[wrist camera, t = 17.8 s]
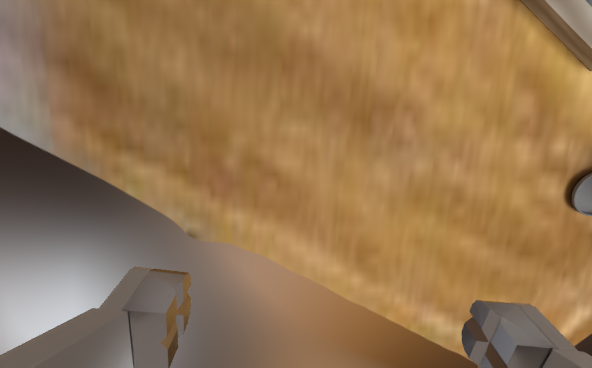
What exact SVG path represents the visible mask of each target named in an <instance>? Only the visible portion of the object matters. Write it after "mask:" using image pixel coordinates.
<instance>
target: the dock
mask: <svg viewBox="0 0 592 368" xmlns="http://www.w3.org/2000/svg"><path fill="white" fill-rule="evenodd" d="M521 1H522V2H523V3H524V4H525V5H526V6H527V7H528V8H529V9H530V10H531V11H532V12H533V13H534V14H535V15H536V17H537V18H538V19H539V20H540V21H541V22H542V23H543V24H544V25H545V26H546V27H547V28H548V29H549V30H550V31H551V32H552V33H553V34H554V35H555V36H556V37H557V38H558V39H559V40H560V41H561V42H562V43H563V44H564V45H565V46H566V47H567V48H568V49H569V50H570V51H571V52H572V53H573V54H574V55H575V56H576V57H577V58H578V59H579V60H580V61H581V62H582V63H583V64H584V65H585V66H586V67H587V68H588V69H589V70H590V71H592V0H521Z"/></svg>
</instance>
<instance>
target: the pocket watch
mask: <svg viewBox="0 0 592 368" xmlns="http://www.w3.org/2000/svg"><path fill="white" fill-rule="evenodd" d="M571 200H572V205H573V206H574V208H575V209H576V210H577V211H578V212H580V213H582V214H584V215H587V216H592V173H590V174H588V175H586V176H585V177H583V178H582V179H581V180H580V181H579V182H578V183H577V185H576V186H575V188H574V190H573V193H572V199H571Z"/></svg>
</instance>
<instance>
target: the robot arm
mask: <svg viewBox="0 0 592 368" xmlns="http://www.w3.org/2000/svg"><path fill="white" fill-rule="evenodd" d="M190 286H191V276H190V274H189V273H187V272H178V271H169V270H161V269H150V268H141V267H134V268H132V269H130V270H129V271H128V273H127V274H126V275H125V276H124V278H123V279H122V280H121V281H120V283H119V284H118V285H117V286H116V288H115V289H114V290H113V291H112V293H111V294H110V295H109V296H108V298H107V299H106V300H105V301H104V303H103V304H102V305H101V306H100V308H99V309H95V308H92V309H90V310H88V311H87V312H84V313H82V314H80V315H78V316H77V317H75V318H73V319H71V320H69V321H67V322H65V323H63V324H61V325H59V326H57V327H55V328H53V329H51V330H49V331H47V332H45V333H43V334H41V335H39V336H37V337H35V338H33V339H31V340H29V341H27V342H25V343H24V344H22V345H20V346H18V347H16V348H14V349H12V350H10V351H8V352H6V353H4V354H2V355H0V368H170V366H171V363H172V361H173V358H174V356H175V354H176V351H177V349H178V337H179V336H181V335H182V334H184V332H185V329H186V326H187V324H188V320H189V316H190V310H191V297H190V296H189V295H188V294H187V292H188V290H189V288H190ZM470 313H471V315H472V318H471V319H469V320H468V321H467V322H465V324H464V326H463V329H462V344H463V347H464V350H465V352H466V354H467V355H468V357H469V359H471V360H472V361H473V362H474V363H476V364H477V365H478V366H479V367H478V368H592V356H590V355H588V354H586V353H585V352H579V351H577V350H576V349H575V347H574V346H573V345H572V344H571V343H570V342H569V341H568V340H567V339H566V338H565V337H564V336H563V335H562V334H561V333H560V332H559V331H558V330H557V329H556V328H555V327H554V326H553V325H552V324H551V323H550V322H549V321H548V320H547V319H546V317H545V316H544V315H543V314H542V313H541V312H540V311H539V310H538V309H537V308H536V307H534V306H532V305H530V304H524V303H504V302H493V301H482V300H476V301H475V302H474V303H473V304H472V306H471V309H470Z"/></svg>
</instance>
